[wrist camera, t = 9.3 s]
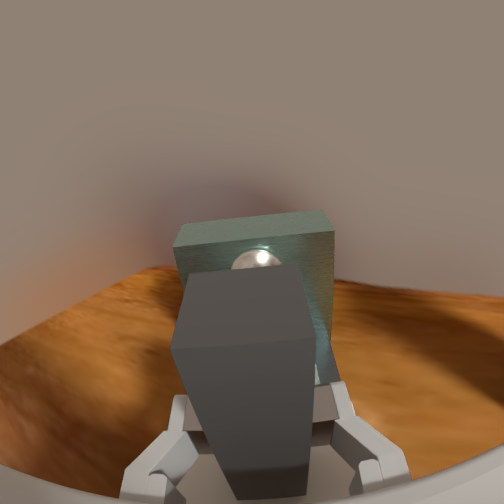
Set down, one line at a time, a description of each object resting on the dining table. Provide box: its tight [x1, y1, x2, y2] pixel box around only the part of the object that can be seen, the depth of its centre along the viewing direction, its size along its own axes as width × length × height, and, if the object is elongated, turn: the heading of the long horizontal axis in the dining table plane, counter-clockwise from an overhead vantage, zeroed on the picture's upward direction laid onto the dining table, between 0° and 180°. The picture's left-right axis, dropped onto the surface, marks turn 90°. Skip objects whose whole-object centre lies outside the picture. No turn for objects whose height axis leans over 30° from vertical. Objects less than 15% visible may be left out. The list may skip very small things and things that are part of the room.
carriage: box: [170, 263, 356, 504], centre depth 10 cm, size 9×7×12 cm
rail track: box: [172, 210, 341, 385], centre depth 18 cm, size 11×22×10 cm, turn 1°
